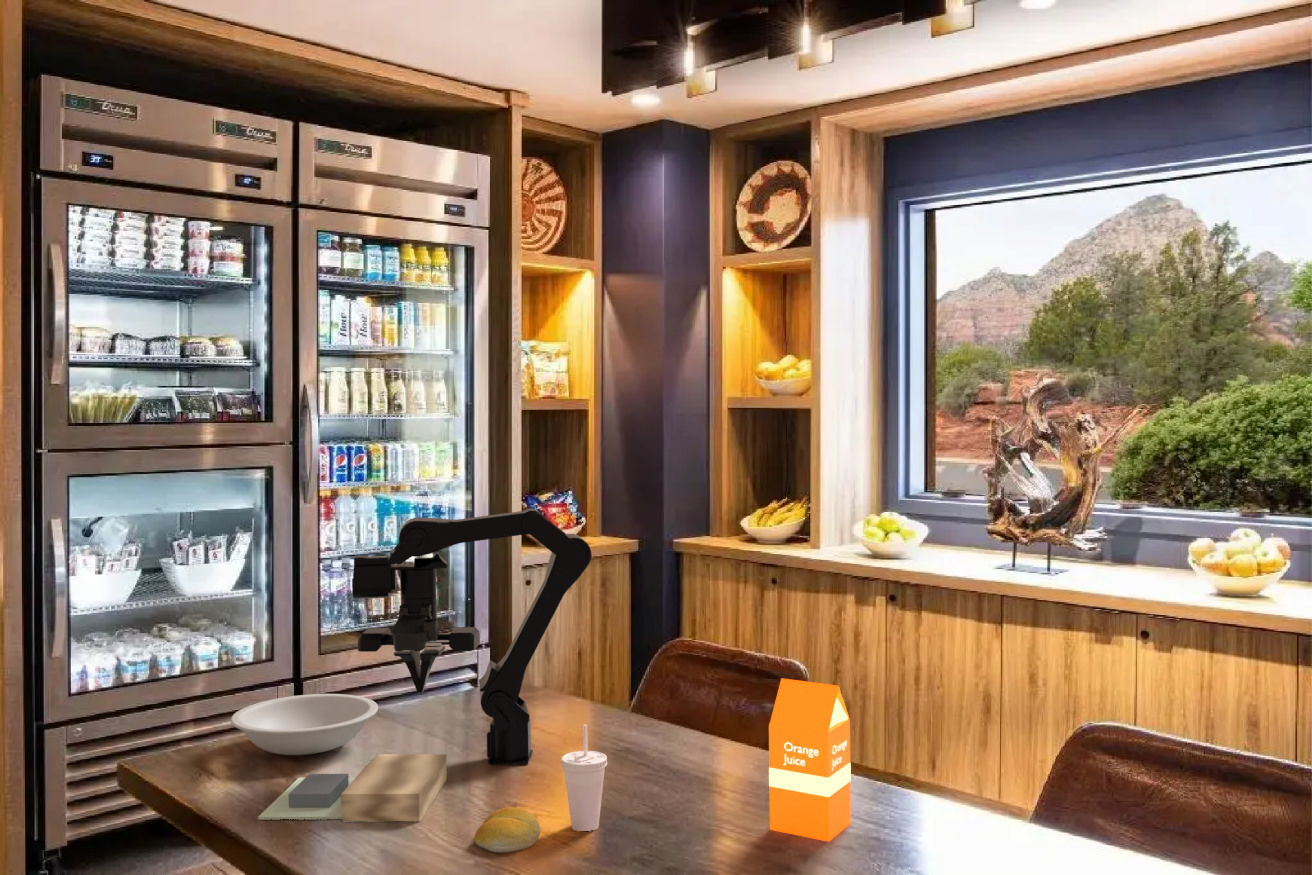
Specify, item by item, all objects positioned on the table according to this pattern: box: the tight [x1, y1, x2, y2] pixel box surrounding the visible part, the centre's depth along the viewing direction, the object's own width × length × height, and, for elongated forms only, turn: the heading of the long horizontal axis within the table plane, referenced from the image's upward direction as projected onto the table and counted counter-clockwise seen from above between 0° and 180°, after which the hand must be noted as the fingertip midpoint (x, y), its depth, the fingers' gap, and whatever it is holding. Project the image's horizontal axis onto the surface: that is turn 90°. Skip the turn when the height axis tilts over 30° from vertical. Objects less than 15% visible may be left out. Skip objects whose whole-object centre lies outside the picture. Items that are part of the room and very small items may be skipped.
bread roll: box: [474, 806, 541, 853], centre depth 153 cm, size 8×9×4 cm
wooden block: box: [341, 753, 448, 823], centre depth 170 cm, size 11×18×4 cm, turn 178°
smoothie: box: [560, 724, 608, 832], centre depth 158 cm, size 6×6×14 cm
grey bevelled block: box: [289, 773, 349, 808], centre depth 170 cm, size 6×9×2 cm, turn 178°
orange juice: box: [768, 678, 852, 842], centre depth 157 cm, size 8×9×20 cm
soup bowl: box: [230, 693, 379, 756], centre depth 195 cm, size 24×24×7 cm
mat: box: [257, 776, 357, 821], centre depth 171 cm, size 12×17×1 cm
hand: (420, 692), depth 185 cm, fingers closed
